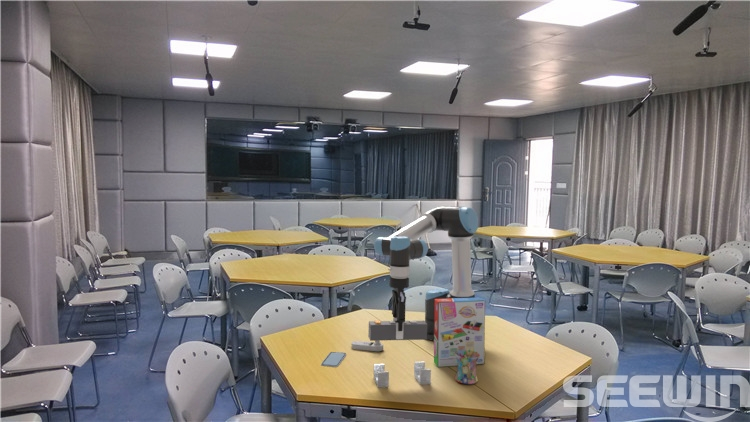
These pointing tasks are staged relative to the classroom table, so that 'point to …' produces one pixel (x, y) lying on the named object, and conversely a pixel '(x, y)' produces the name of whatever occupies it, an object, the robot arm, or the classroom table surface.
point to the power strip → (388, 330)
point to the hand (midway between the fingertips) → (397, 336)
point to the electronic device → (367, 345)
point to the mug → (466, 366)
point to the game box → (458, 329)
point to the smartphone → (333, 359)
